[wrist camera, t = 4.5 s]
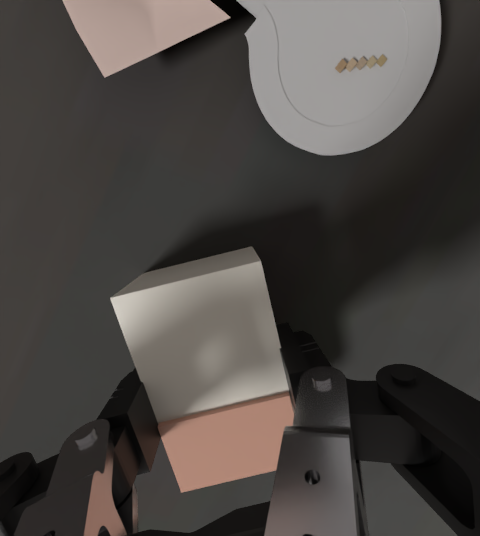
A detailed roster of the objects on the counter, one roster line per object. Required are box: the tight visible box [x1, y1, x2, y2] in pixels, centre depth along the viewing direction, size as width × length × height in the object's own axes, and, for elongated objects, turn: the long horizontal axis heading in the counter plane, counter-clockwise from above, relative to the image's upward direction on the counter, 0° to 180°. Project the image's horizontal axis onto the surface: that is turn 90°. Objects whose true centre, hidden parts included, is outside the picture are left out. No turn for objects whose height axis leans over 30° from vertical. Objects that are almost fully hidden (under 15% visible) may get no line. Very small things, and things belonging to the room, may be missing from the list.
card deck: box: [110, 246, 295, 493], centre depth 11 cm, size 5×8×4 cm, turn 14°
